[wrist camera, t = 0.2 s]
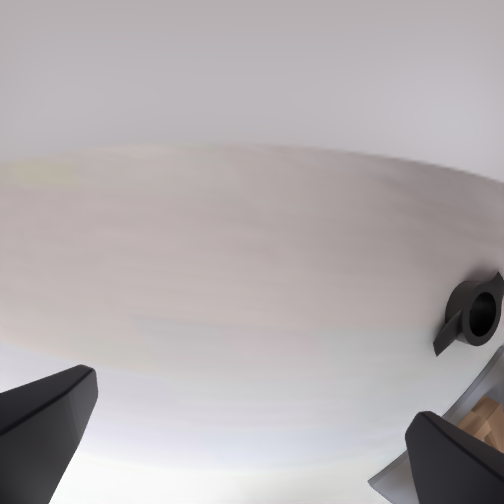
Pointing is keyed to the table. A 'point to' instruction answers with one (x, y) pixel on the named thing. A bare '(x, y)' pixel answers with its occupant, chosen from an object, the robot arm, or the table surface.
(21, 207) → the table surface
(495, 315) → the black hollow winged cylinder
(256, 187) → the table surface
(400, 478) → the block
